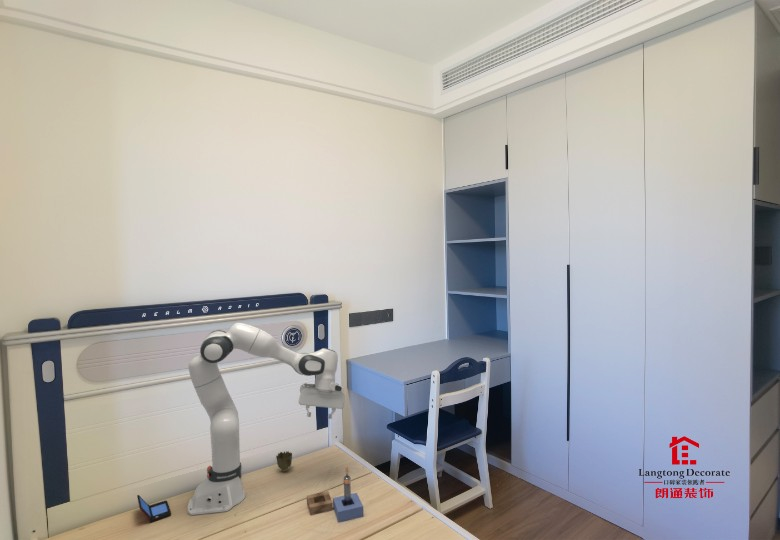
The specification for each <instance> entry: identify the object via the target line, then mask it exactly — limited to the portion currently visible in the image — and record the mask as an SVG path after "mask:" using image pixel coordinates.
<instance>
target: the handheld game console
mask: <svg viewBox="0 0 780 540" xmlns="http://www.w3.org/2000/svg"><path fill="white" fill-rule="evenodd" d="M136 497H137V502H138V507H139V510H140V511H141V512H142V513H143V514H144V515H145V516H146V517H147V519H149V523H155V522H157V521H160V520H163V519H166V518H169V517H171V516H172V511H171V508H170V505H169V502H168V500H162V501H160V502H156V503H153V504H149V503H147V502H146V501H145V500H144V499H143V498H142V497H141V496H140V495H139V494H137V495H136Z"/></svg>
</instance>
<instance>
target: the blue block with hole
mask: <svg viewBox="0 0 780 540" xmlns="http://www.w3.org/2000/svg"><path fill="white" fill-rule="evenodd" d="M332 503H333V511H334V513H335V517H336V520H337V522H338V523H341V522H345V521H351V520H354V519H358V518H362V517H364V505H363V502H362V501H361V498H360V497H359V495H358V493H357V492H355V493H351V505H347V506H345V502H344V495H341V496H337V497H333V498H332Z"/></svg>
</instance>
